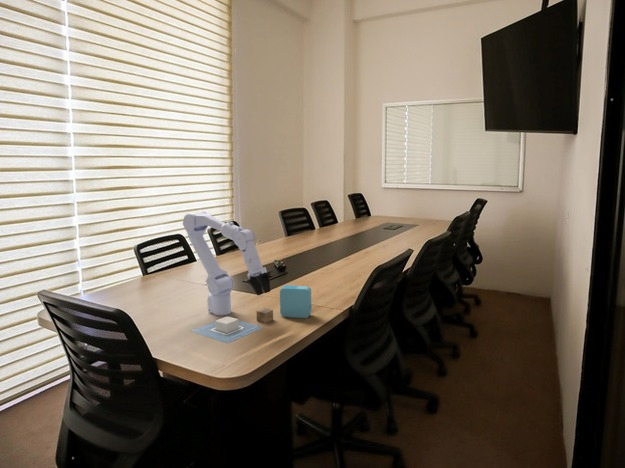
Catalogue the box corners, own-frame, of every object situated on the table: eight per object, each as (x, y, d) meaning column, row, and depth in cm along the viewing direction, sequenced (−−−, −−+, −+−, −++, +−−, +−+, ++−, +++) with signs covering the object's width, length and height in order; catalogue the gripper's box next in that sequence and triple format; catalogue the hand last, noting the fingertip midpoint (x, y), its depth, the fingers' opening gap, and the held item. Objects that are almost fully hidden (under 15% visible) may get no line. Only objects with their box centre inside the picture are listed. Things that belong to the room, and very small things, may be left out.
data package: (311, 314, 182) (311, 286, 180) (309, 318, 178) (308, 289, 176) (283, 313, 184) (282, 285, 182) (280, 316, 180) (279, 288, 178)
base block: (215, 329, 164) (215, 320, 163) (227, 325, 169) (227, 316, 168) (226, 333, 160) (226, 324, 160) (238, 328, 165) (238, 319, 165)
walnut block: (256, 323, 173) (256, 311, 172) (264, 320, 177) (264, 307, 176) (265, 325, 171) (265, 313, 170) (273, 322, 174) (272, 310, 173)
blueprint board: (190, 333, 164) (190, 330, 163) (227, 319, 178) (226, 316, 178) (227, 346, 152) (227, 342, 152) (264, 329, 166) (263, 326, 166)
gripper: (268, 253, 167) (280, 287, 167) (254, 260, 180) (265, 291, 179) (251, 259, 164) (264, 294, 163) (238, 265, 176) (250, 297, 175)
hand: (264, 293), depth 171 cm, fingers open, 7 cm apart
